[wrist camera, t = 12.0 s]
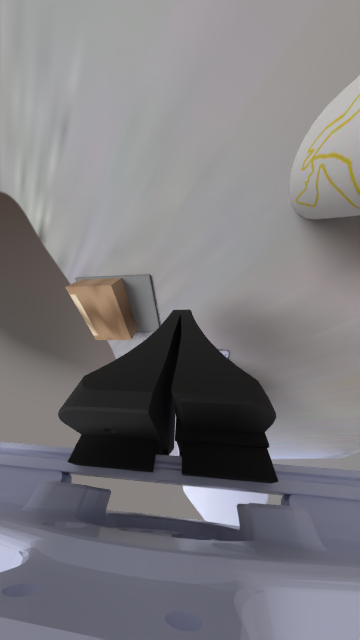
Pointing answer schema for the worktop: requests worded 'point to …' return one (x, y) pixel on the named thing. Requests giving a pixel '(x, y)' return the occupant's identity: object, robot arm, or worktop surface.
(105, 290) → the slab
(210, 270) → the worktop surface
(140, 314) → the mat
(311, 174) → the cup
